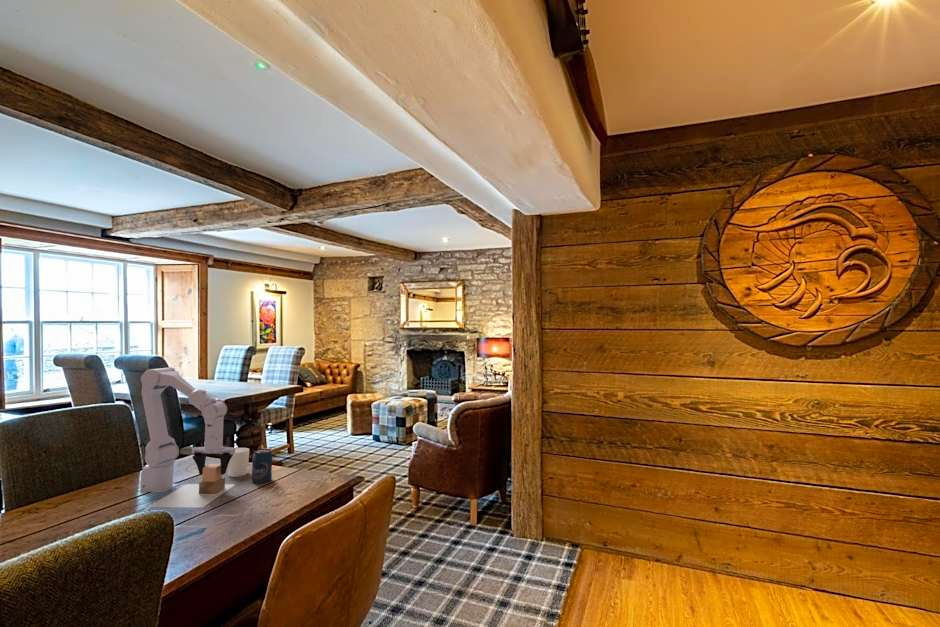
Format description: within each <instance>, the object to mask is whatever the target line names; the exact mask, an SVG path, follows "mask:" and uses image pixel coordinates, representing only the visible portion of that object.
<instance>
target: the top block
mask: <svg viewBox="0 0 940 627" xmlns="http://www.w3.org/2000/svg"><path fill="white" fill-rule="evenodd" d="M222 477H223V475H221V463H209V464H207V465H205V467H203V474H202V480H201V481H202V482H216V481H218V480H219V479H221V478H222Z"/></svg>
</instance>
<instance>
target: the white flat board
mask: <svg viewBox="0 0 940 627" xmlns="http://www.w3.org/2000/svg"><path fill="white" fill-rule="evenodd" d="M235 485H237V484H235V483H234V484H233V483H232V484H231V483H225V488H224V489H223V490H221V491H220V492H218V493H217V494H199V483H186V484H184V485H183V486H180V487H179V488H178V489H175V490H174V491H172V492H171V493H169V494H166V495H165V496H164V497H162V498H160V499H158V500H157V501H155V502H152V503H151V504H150V505H148V506H147V508H174V509H175V508H181V509H182V508H184V509H185V508H189V509H190V508H191V509H192V508H196V509H197V508H201V509H202V508H205V506H207V505H209V504H210V503H211V502H213V501H214V500H216V499H217V498H219V497H220V496H221V495H223V494H224V493H226V492H227V491H229V490H230V489H231V488H233V487H234V486H235Z"/></svg>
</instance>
